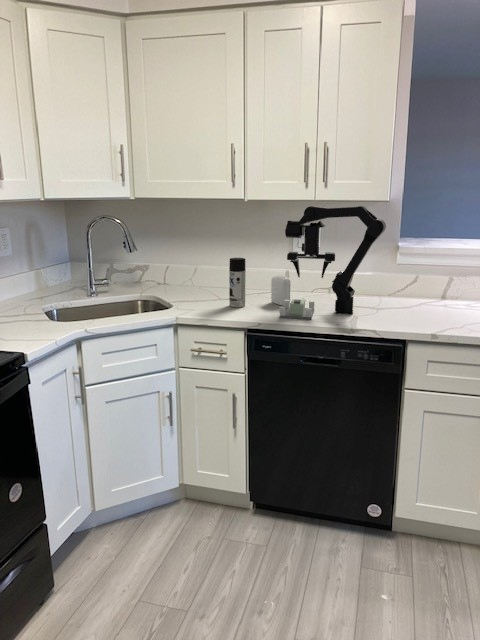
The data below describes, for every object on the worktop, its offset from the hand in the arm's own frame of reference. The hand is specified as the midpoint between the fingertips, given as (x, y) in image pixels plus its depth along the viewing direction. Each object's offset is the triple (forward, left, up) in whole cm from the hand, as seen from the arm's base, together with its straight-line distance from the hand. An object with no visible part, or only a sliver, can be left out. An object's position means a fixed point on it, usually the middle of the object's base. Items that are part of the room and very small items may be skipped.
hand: (310, 277), depth 207 cm
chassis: (+4, +10, -13) cm, 17 cm away
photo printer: (+13, -7, -13) cm, 20 cm away
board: (+4, +10, -12) cm, 16 cm away
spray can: (+30, +1, -13) cm, 33 cm away
